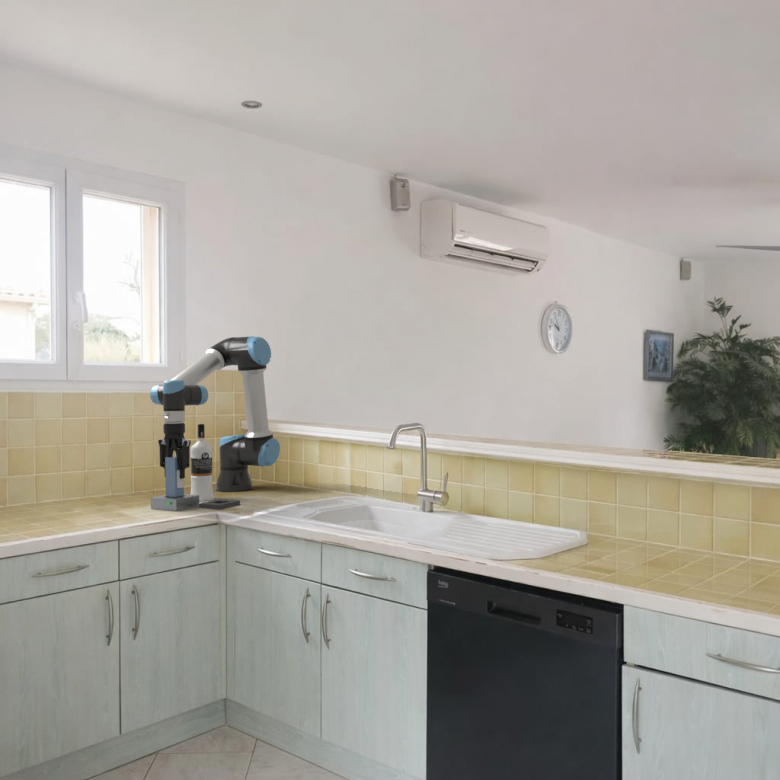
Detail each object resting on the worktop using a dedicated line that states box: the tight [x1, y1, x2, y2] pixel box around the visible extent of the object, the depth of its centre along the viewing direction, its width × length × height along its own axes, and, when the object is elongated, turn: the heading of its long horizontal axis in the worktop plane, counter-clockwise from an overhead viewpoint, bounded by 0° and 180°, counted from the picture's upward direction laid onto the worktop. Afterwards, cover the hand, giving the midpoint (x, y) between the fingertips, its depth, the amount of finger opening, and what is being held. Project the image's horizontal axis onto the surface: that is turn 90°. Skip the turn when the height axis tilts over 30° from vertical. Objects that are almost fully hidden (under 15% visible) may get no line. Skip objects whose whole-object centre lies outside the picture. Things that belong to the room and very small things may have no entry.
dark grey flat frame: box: [198, 498, 241, 511], centre depth 293 cm, size 12×9×2 cm
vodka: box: [190, 423, 215, 502], centre depth 309 cm, size 9×9×30 cm
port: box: [150, 493, 200, 512], centre depth 291 cm, size 13×12×5 cm
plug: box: [164, 455, 185, 497], centre depth 291 cm, size 4×4×14 cm
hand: (174, 487), depth 291 cm, fingers closed on plug, 4 cm apart
